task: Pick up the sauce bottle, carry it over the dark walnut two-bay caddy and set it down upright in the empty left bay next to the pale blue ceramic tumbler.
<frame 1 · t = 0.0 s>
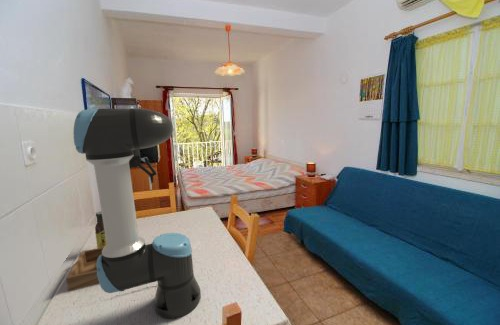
hand: (136, 191, 115), 28 cm above the table, fingers open, 13 cm apart
tumbler: (121, 264, 100), point 1 cm above the table, touching caddy
caddy: (108, 269, 98), on the table
sauce bottle: (106, 251, 113), on the table
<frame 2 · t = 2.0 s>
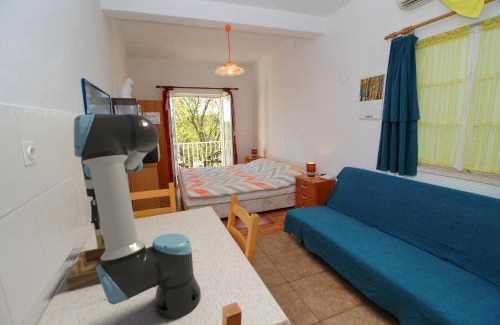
hand: (102, 228, 111), 12 cm above the table, fingers open, 13 cm apart
nothing on the table moved.
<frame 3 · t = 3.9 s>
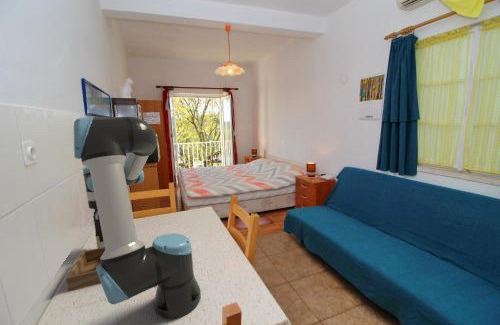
hand: (104, 243, 113), 4 cm above the table, fingers closed on sauce bottle, 6 cm apart
sauce bottle: (106, 251, 113), on the table, touching gripper
everything else where it was.
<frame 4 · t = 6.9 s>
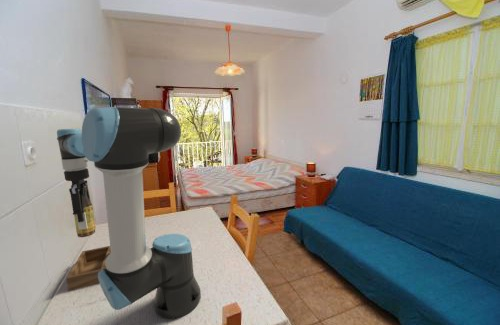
hand: (85, 225, 93), 21 cm above the table, fingers closed on sauce bottle, 6 cm apart
sauce bottle: (87, 234, 93), point 17 cm above the table, touching gripper
everything else where it was.
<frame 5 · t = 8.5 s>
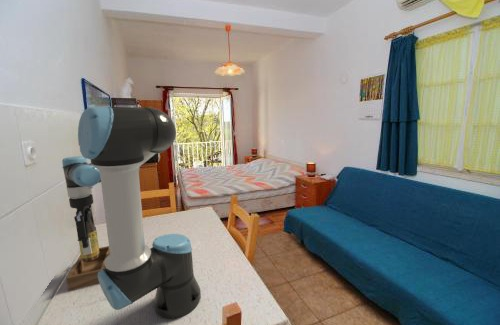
hand: (90, 249, 95), 11 cm above the table, fingers closed on sauce bottle, 6 cm apart
sauce bottle: (91, 258, 95), point 7 cm above the table, touching gripper
everything else where it was.
when the fingers open (7 cm above the table, at t = 10.0 s): sauce bottle drops 2 cm, resting on caddy.
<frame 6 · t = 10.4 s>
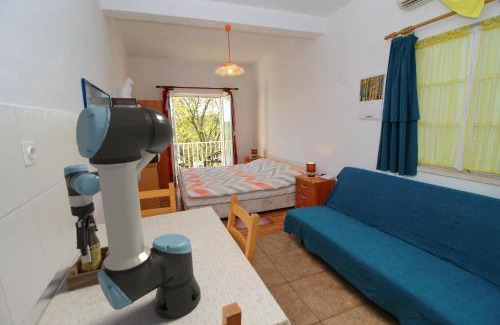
hand: (90, 254, 95), 9 cm above the table, fingers open, 11 cm apart
sauce bottle: (94, 270, 96), point 1 cm above the table, touching caddy
everything else where it was.
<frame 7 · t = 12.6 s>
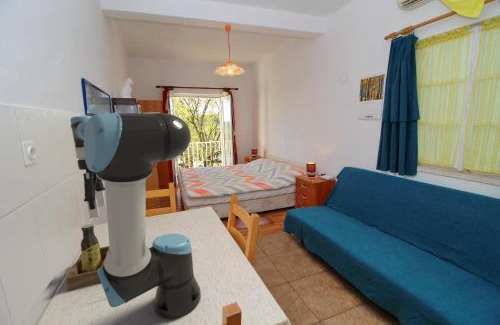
hand: (98, 211, 90), 27 cm above the table, fingers open, 13 cm apart
nothing on the table moved.
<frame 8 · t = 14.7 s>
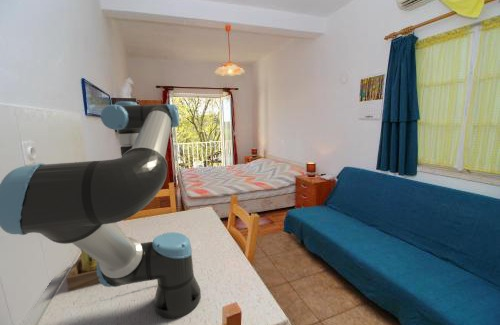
hand: (138, 200, 88), 32 cm above the table, fingers open, 13 cm apart
nothing on the table moved.
at the end: sauce bottle inside the target area on the caddy (0.3 cm from its centre), point 0.8 cm above the caddy's base; sauce bottle tilted 0°; the gripper is holding nothing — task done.
